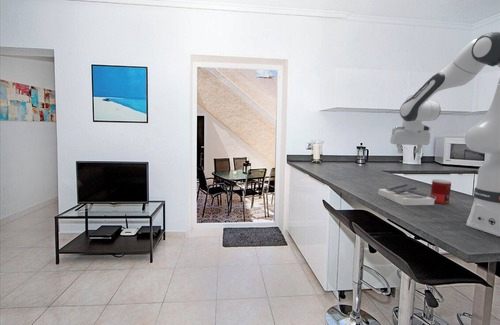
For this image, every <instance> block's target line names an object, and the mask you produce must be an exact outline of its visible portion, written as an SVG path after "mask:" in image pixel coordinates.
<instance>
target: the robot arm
mask: <svg viewBox="0 0 500 325" xmlns="http://www.w3.org/2000/svg"><path fill="white" fill-rule="evenodd" d="M486 65H487V66H490V67H495V66H496V67H497V66H498V67H499V68H500V31H495V32H488V33H484V34H482V35H480V36H479V37H477V38H475V39H473V40H470V42H468V44H466V46H464V47H463V48H462V49H461V50H460V51H459V52H458V53H457V54H456V55H455V57H454V58H453V59H452V61H450V62H449V63H448V64H447V65H446V66H445V67H444V68H443V69H442V70H440V71H439V72H437V73H436V74H434V75H432V77H430V78H429V79H428V80H427V81H426V82H425V83H424V84H423V85H422V86H421V87H420V88H419V89H418V90H417V91H416V92H415V93H414V94H413V95H408V97H406V99H405V101H404V102H402V105H400V109H399V115H400V117H401V118H402V126H395V127H393V128H392V131H391V137H390V139H389V140H390V141H389V142H390V144H392V145H396V148H397V153H398V154H403V151H404V150H403V149H402V148H401V147H402V146H403V145H408V146H415V145H416V147H417V148H416V149H414V154H420V150H421V149H422V148H423V146H429V144H430V142H431V132H430V131H431V129H432V128H431V126H429V125H426V124H424V123H423V122H431V121H435V120H437V119H438V118H439V116H440V114H441V106H440V104H439V103H438V102H436V101H433V100H429V99H431V98H432V97H433V96H434V95H436V94H437V93H438V92H441V91H444V90H448V89H451V88H457V87H462V86H465V85H466V84H468V83H469V82H471V81H472V80H474V78H476V76H477V75H479V73H480V72H481V71H482V69H484V67H486ZM464 144H465V146H466V147H467V148H468V149H469V150H470V151H472V152H477V153H482V154H488V155H490V157H489V158H488V160H487V161H486V162H485V163H484V164H482V165H481V166H480V167H479V168H478V171H477V178H476V185H475V186H476V187H474V191H473V197H474V199H473V203H472V205H471V209H470V212H469V215H468V218H467V219H466V224H465V225H466V226H467V227H470V228H473V229H475V230H479V231H481V232H486V233H488V234H491V235H494V236H496V237H500V78H498V82H497V86H496V89H495V93H494V95H493V99H492V101H491V104H490V106H489V109H488V110H487V112H486V113H485V114H484V116H483V117H482V118H481V119H480V120H479V121H478V122H477V123H476V124H475V125H473V126H471V127H470V128H469V129H468V130H467V131H466V134H465V136H464Z"/></svg>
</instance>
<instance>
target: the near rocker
mask: <svg viewBox="0 0 500 325" xmlns="http://www.w3.org/2000/svg"><path fill="white" fill-rule="evenodd" d="M403 191H406V192H408V193H412V194H416V195H420V196H424V197H426V196H427V197H428V194H425V193H424V192H420V191H416V190H409V189H405V188H403Z"/></svg>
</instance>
